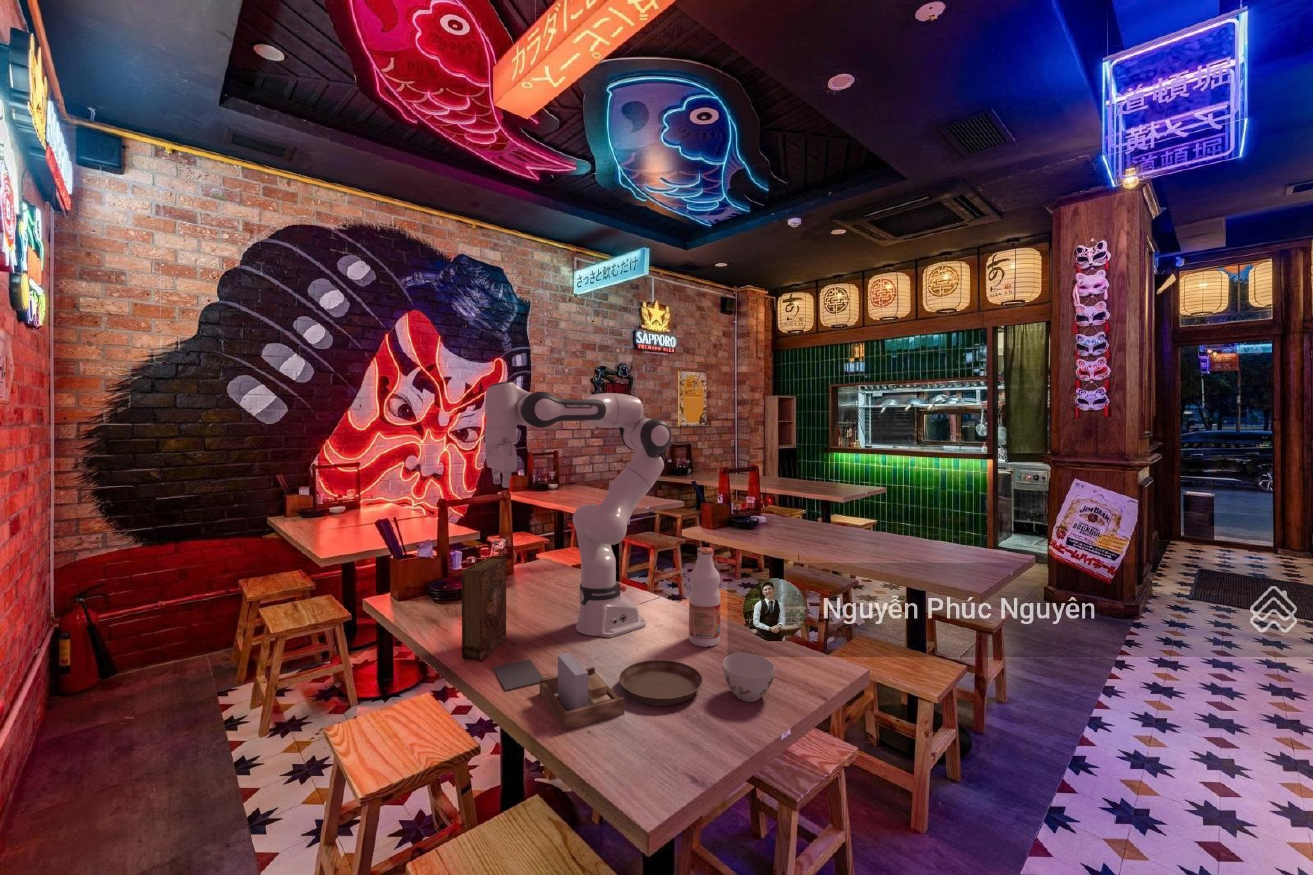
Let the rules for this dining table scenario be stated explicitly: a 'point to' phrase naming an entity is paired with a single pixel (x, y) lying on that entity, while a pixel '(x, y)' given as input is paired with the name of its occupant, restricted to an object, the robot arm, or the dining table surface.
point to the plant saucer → (660, 682)
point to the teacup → (748, 675)
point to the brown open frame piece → (585, 713)
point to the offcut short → (596, 686)
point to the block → (572, 682)
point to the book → (483, 608)
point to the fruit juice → (704, 601)
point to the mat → (518, 674)
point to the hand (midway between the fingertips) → (501, 485)
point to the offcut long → (598, 699)
